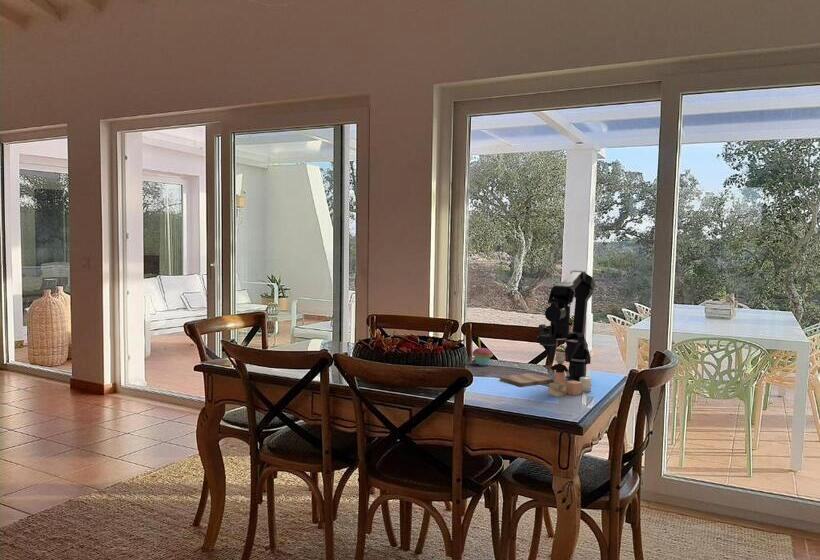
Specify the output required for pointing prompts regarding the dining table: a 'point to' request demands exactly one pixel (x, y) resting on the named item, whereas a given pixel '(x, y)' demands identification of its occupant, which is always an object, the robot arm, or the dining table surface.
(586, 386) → the off-white cylinder
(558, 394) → the beech block
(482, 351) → the cupcake
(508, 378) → the walnut board
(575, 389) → the terracotta block
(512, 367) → the dining table surface
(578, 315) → the robot arm
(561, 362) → the grandmother figurine
